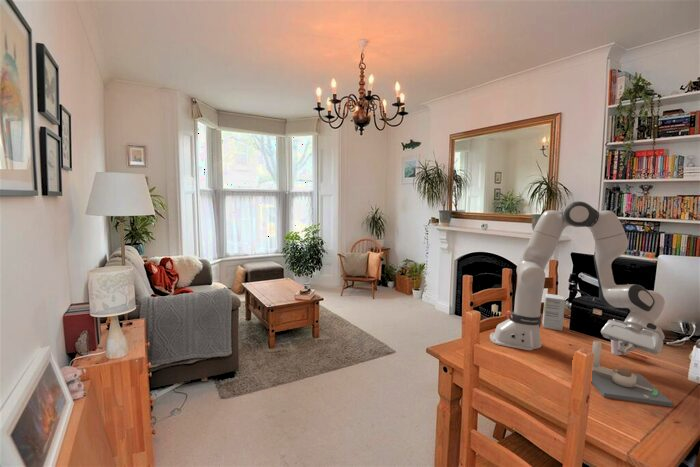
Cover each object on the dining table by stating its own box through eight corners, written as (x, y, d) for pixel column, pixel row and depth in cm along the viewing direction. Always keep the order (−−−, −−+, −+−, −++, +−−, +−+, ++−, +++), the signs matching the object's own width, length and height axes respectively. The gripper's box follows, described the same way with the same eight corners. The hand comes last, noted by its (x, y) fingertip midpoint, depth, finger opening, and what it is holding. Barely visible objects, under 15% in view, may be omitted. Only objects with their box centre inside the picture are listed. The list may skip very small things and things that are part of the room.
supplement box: (542, 322, 201) (544, 293, 199) (561, 325, 197) (563, 295, 195) (542, 327, 192) (545, 297, 190) (562, 331, 188) (565, 299, 187)
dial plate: (603, 397, 124) (604, 392, 124) (581, 370, 143) (582, 366, 143) (672, 407, 119) (673, 401, 119) (640, 378, 138) (640, 373, 138)
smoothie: (628, 357, 157) (631, 326, 156) (612, 355, 159) (615, 325, 157) (620, 351, 164) (623, 321, 162) (605, 350, 165) (608, 320, 164)
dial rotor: (653, 387, 128) (657, 354, 127) (650, 394, 123) (654, 360, 122) (592, 369, 141) (595, 339, 140) (587, 374, 136) (590, 343, 135)
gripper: (607, 313, 155) (591, 338, 152) (665, 329, 137) (648, 358, 134) (612, 322, 158) (597, 347, 154) (669, 338, 139) (653, 367, 136)
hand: (621, 352), depth 144 cm, fingers closed
